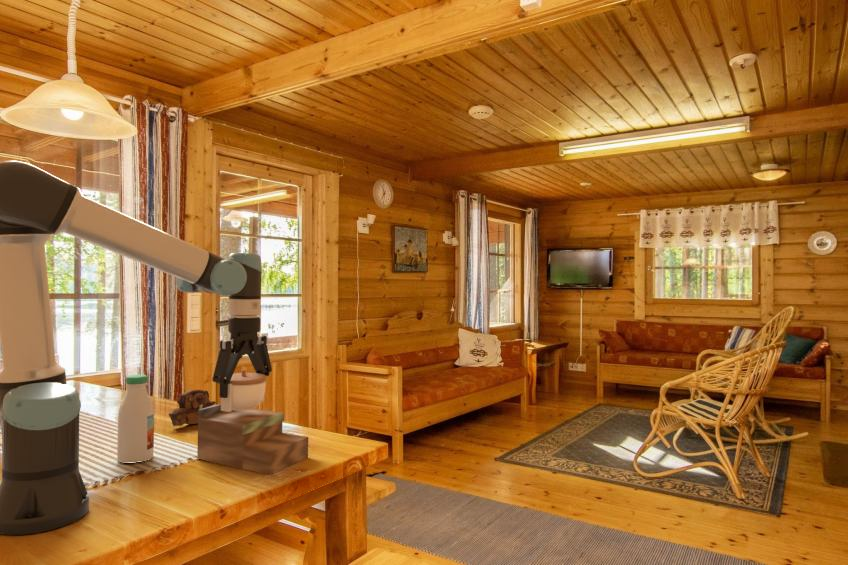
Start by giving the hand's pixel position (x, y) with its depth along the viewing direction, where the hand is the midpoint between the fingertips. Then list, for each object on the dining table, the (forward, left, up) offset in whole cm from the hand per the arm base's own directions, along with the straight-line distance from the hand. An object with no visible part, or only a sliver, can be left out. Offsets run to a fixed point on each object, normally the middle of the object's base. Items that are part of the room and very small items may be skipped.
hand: (243, 406), depth 142 cm
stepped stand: (0, -3, -12) cm, 13 cm away
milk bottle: (-14, +20, -13) cm, 27 cm away
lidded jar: (0, 0, -1) cm, 1 cm away
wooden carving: (+16, +33, -13) cm, 39 cm away
